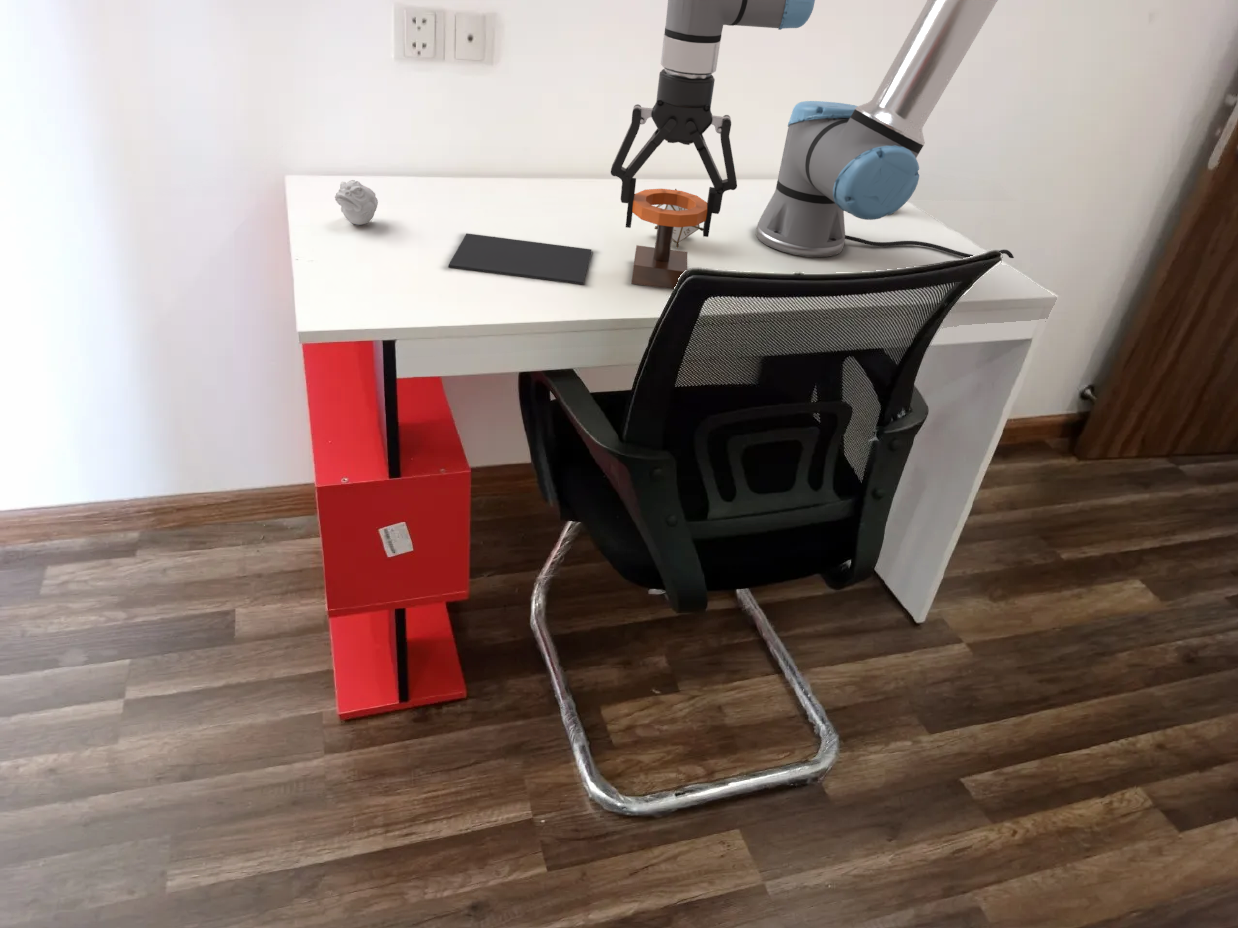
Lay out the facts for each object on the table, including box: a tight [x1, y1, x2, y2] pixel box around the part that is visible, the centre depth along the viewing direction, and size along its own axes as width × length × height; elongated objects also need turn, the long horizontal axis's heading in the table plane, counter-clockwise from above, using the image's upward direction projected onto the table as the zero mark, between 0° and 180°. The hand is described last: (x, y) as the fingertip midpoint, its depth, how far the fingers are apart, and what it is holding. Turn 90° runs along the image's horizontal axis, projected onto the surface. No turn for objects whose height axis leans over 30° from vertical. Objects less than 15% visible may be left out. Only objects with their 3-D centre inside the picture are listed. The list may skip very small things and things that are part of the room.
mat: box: [447, 232, 592, 285], centre depth 139 cm, size 20×13×1 cm, turn 86°
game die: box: [654, 188, 703, 249], centre depth 149 cm, size 9×8×10 cm
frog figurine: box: [334, 179, 379, 226], centre depth 141 cm, size 6×7×7 cm
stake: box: [631, 225, 689, 290], centre depth 136 cm, size 8×8×9 cm
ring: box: [632, 188, 707, 227], centre depth 133 cm, size 11×11×2 cm
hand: (667, 229), depth 135 cm, fingers closed on ring, 11 cm apart
